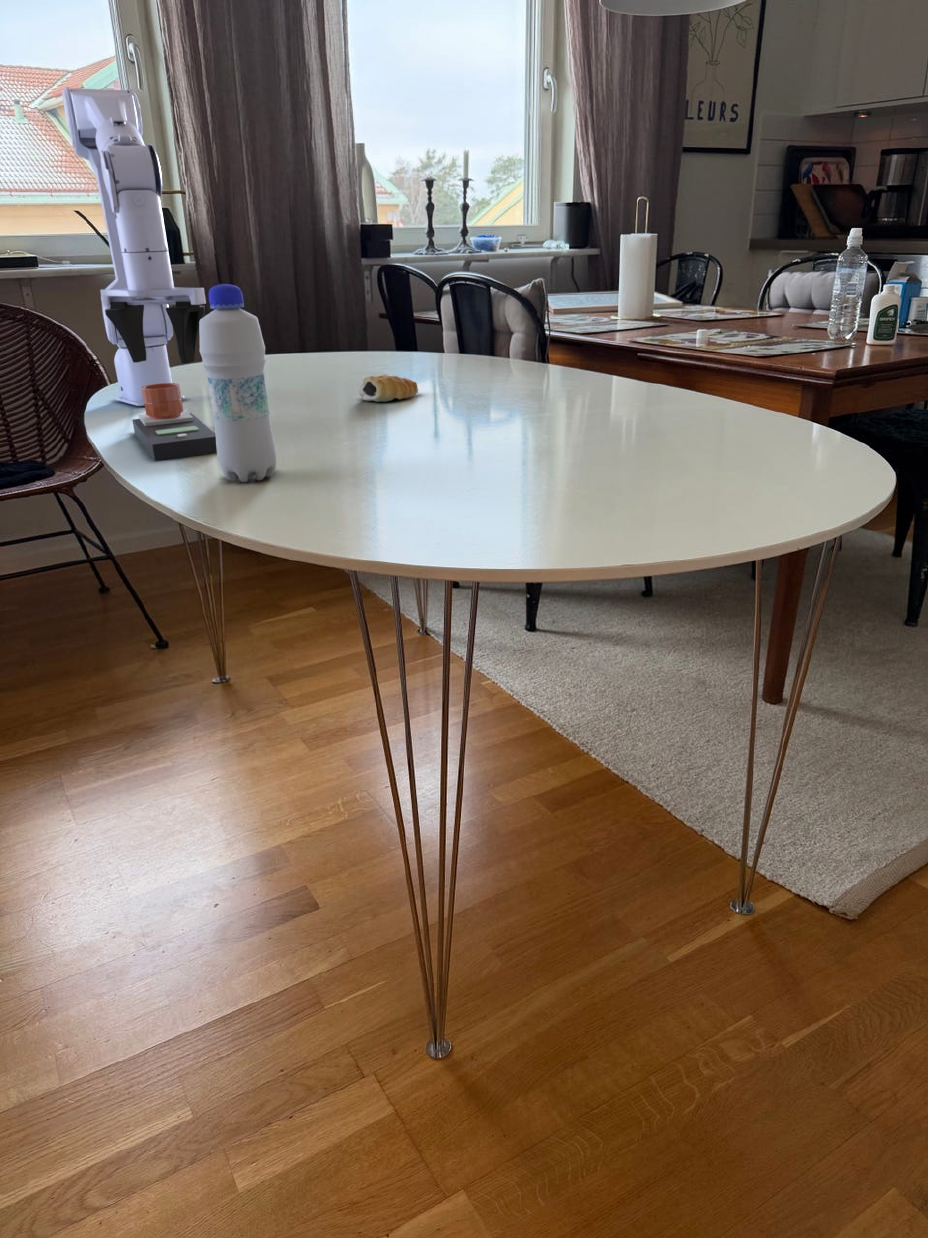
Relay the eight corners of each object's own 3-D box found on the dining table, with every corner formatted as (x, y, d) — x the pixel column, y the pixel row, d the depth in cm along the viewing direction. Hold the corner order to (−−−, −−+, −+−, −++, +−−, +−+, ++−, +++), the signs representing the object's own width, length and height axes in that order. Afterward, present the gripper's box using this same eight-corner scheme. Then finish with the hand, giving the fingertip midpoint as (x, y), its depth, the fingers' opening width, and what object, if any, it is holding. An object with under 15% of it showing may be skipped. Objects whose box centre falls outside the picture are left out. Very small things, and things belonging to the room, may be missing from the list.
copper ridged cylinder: (141, 416, 116) (135, 386, 114) (174, 411, 119) (169, 381, 117) (156, 421, 113) (150, 390, 111) (190, 415, 116) (185, 385, 114)
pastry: (402, 391, 142) (401, 367, 141) (428, 396, 138) (427, 372, 136) (356, 399, 137) (354, 375, 135) (382, 405, 132) (380, 379, 130)
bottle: (228, 469, 98) (201, 282, 90) (286, 468, 98) (264, 280, 90) (211, 485, 92) (180, 286, 84) (272, 484, 92) (247, 284, 83)
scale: (134, 433, 118) (131, 415, 117) (193, 426, 121) (190, 408, 120) (155, 460, 103) (151, 440, 102) (221, 451, 106) (218, 431, 105)
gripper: (76, 254, 108) (99, 365, 114) (175, 251, 104) (193, 367, 109) (113, 252, 114) (132, 357, 120) (207, 249, 110) (223, 359, 115)
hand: (163, 361), depth 115 cm, fingers open, 7 cm apart
